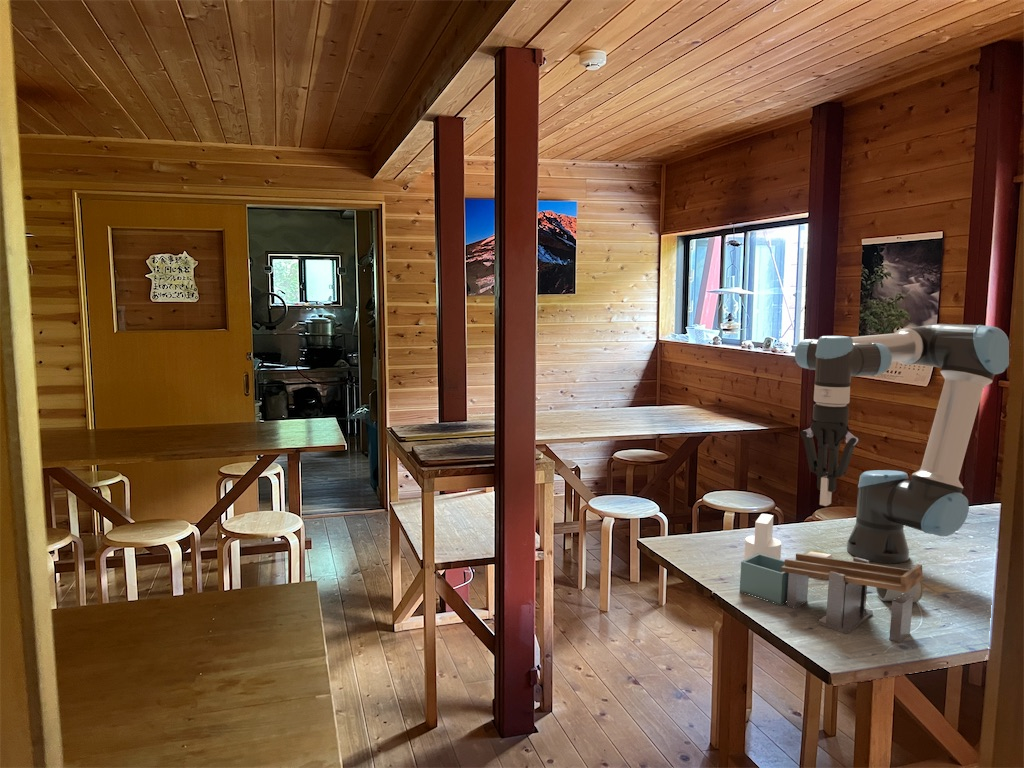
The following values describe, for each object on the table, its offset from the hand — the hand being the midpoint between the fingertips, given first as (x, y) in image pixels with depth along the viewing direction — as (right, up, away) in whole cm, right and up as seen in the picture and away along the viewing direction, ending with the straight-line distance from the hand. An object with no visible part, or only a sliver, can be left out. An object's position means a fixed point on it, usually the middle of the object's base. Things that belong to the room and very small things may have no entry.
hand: (825, 504), depth 171 cm
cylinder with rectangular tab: (-7, -19, +23) cm, 31 cm away
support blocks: (0, -23, -10) cm, 26 cm away
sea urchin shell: (+6, -20, +18) cm, 28 cm away
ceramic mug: (+17, -22, +1) cm, 28 cm away
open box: (-12, -22, +3) cm, 25 cm away
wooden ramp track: (+2, -13, -10) cm, 17 cm away
